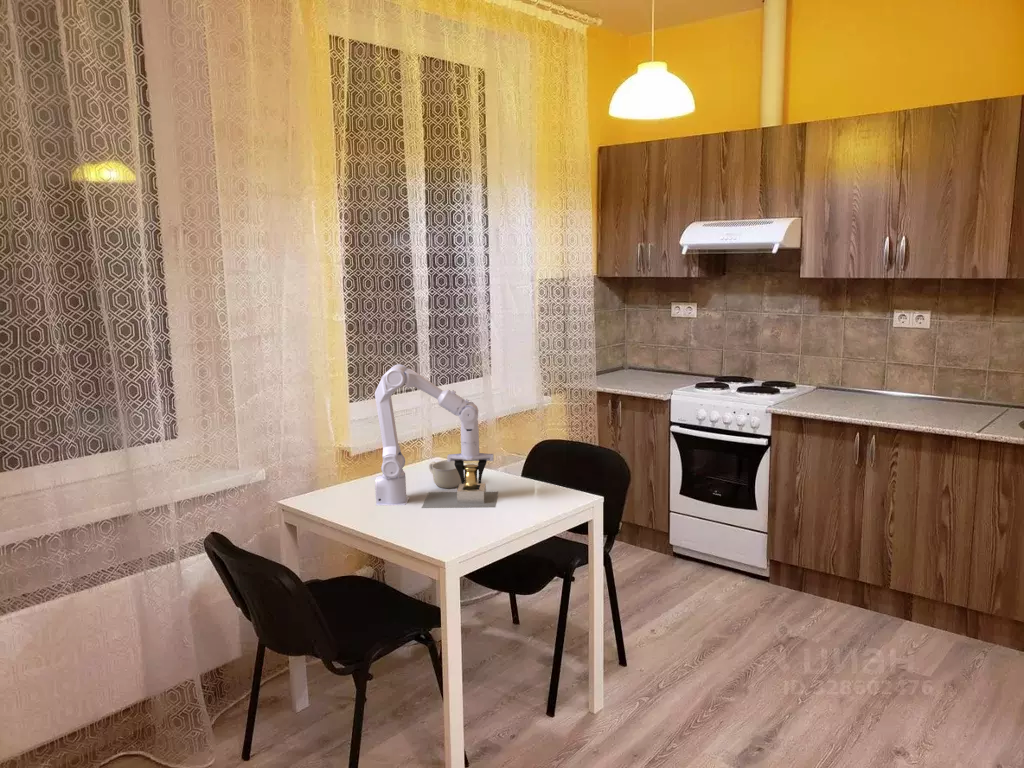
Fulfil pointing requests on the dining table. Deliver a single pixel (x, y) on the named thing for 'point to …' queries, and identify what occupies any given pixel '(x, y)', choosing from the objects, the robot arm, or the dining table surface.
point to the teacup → (445, 474)
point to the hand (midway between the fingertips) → (471, 482)
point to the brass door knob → (470, 477)
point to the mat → (451, 500)
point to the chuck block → (471, 494)
